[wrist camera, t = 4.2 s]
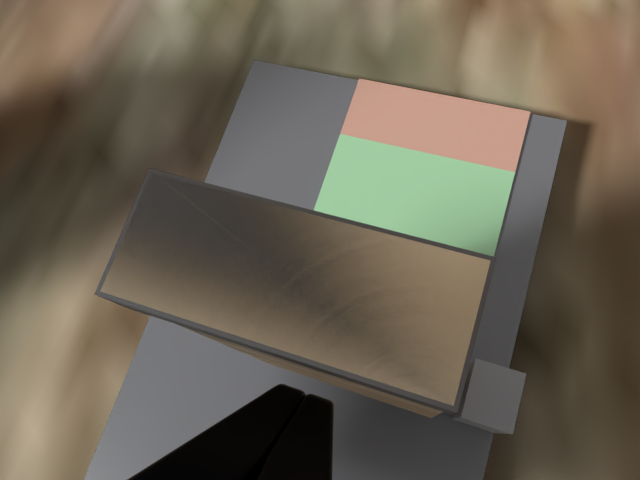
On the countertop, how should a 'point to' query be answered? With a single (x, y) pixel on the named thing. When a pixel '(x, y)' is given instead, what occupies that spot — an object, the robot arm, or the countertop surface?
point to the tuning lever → (304, 290)
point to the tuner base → (377, 210)
